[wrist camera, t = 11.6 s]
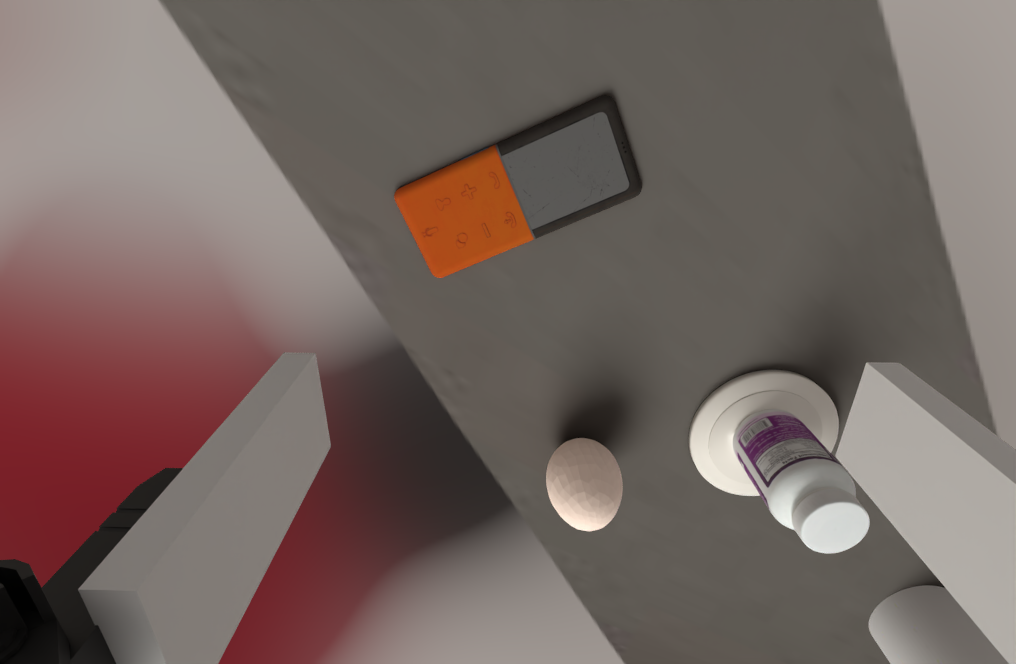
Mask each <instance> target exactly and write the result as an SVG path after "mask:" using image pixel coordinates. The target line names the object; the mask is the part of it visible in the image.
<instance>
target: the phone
mask: <svg viewBox="0 0 1016 664" xmlns="http://www.w3.org/2000/svg"><path fill="white" fill-rule="evenodd" d="M641 188H642V186H641V182H640V179H639V176H638V173H637V170H636V167H635V164H634V161H633V158H632V154H631V151H630V148H629V145H628V142H627V139H626V136H625V133H624V130H623V127H622V124H621V120H620V117H619V114H618V111H617V108H616V105H615V102H614V100H613V99H612V98H611V97H610V96H607V95H604V96H601V97H599V98H596V99H594V100H592V101H590V102H588V103H585V104H583V105H581V106H579V107H577V108H574V109H572V110H570V111H568V112H566V113H563V114H561V115H559V116H557V117H555V118H552V119H550V120H548V121H546V122H544V123H541V124H539V125H537V126H535V127H533V128H531V129H528V130H526V131H524V132H522V133H520V134H517V135H515V136H513V137H511V138H509V139H506V140H504V141H502V142H500V143H498V144H495V145H493V146H491V147H488V148H485V149H483V150H481V151H479V152H477V153H474V154H472V155H470V156H468V157H466V158H463V159H461V160H460V161H458V162H456V163H454V164H451V165H449V166H447V167H445V168H443V169H441V170H438V171H436V172H434V173H432V174H430V175H427V176H425V177H423V178H421V179H419V180H416V181H414V182H412V183H410V184H408V185H405V186H403V187H401V188H399V189H398V190H397V191H396V192H395V195H394V198H395V201H396V203H397V205H398V207H399V209H400V211H401V213H402V215H403V217H404V219H405V221H406V223H407V225H408V227H409V229H410V231H411V233H412V235H413V237H414V239H415V241H416V243H417V245H418V247H419V249H420V251H421V253H422V255H423V257H424V259H425V261H426V263H427V265H428V267H429V269H430V271H431V273H432V274H433V275H434V276H435V277H438V278H442V277H445V276H447V275H450V274H452V273H454V272H457V271H459V270H462V269H464V268H466V267H469V266H471V265H473V264H476V263H478V262H481V261H483V260H485V259H488V258H490V257H493V256H495V255H497V254H500V253H502V252H505V251H507V250H509V249H512V248H514V247H517V246H519V245H521V244H524V243H526V242H529V241H531V240H533V239H536V238H538V237H541V236H543V235H545V234H548V233H550V232H552V231H555V230H557V229H560V228H562V227H564V226H567V225H569V224H572V223H574V222H576V221H579V220H581V219H584V218H586V217H588V216H591V215H593V214H596V213H598V212H600V211H603V210H605V209H608V208H610V207H612V206H615V205H617V204H620V203H622V202H624V201H627V200H629V199H631V198H634V197H636V196H637V195H639V193H640V192H641Z"/></svg>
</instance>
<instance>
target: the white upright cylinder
mask: <svg viewBox="0 0 1016 664" xmlns="http://www.w3.org/2000/svg"><path fill="white" fill-rule="evenodd" d="M869 630H870V633H871V635H872V636H873V638H874V639H875V641H876V642H877V644H878V645H879V647H880V648H881V650H882V651H883V653H884V654H885V656H886V657H887V659H888V660H889V662H890V663H891V664H1009V663H1008V662H1007V661H1006V660H1005V658H1004V657H1003V656H1002V655H1001V654H1000V653H999V651H998V650H997V649H996V648H995V647H994V645H993V644H992V643H991V642H990V641H989V639H988V638H987V637H986V636H985V635H984V633H983V632H982V631H981V630H980V629H979V627H978V626H977V625H976V624H975V623H974V621H973V620H972V619H971V618H970V617H969V615H968V614H967V613H966V612H965V611H964V609H963V608H962V607H961V606H960V605H959V603H958V602H957V601H956V600H955V599H954V597H953V596H952V595H951V594H950V593H949V591H948V590H947V589H946V588H943V587H939V586H931V585H924V586H915V587H911V588H907V589H904V590H901V591H899V592H896V593H894V594H892V595H891V596H889V597H887V598H886V599H885V600H883V601H882V602H881V603H880V604H879V605H878V606H877V607H876V608H875V609H874V611H873V612H872V614H871V616H870V619H869Z"/></svg>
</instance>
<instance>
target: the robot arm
mask: <svg viewBox="0 0 1016 664" xmlns="http://www.w3.org/2000/svg"><path fill="white" fill-rule="evenodd" d="M330 447H331V444H330V439H329V432H328V426H327V420H326V414H325V408H324V402H323V396H322V390H321V383H320V377H319V371H318V365H317V359H316V354H315V353H283V354H282V356H281V357H280V358H279V359H278V360H277V361H276V363H275V364H274V365H273V366H272V367H271V368H270V369H269V371H268V372H267V373H266V374H265V375H264V376H263V377H262V379H261V380H260V381H259V382H258V383H257V384H256V386H255V387H254V388H253V389H252V390H251V391H250V392H249V393H248V395H247V396H246V397H245V398H244V399H243V401H242V402H241V403H240V404H239V405H238V406H237V407H236V408H235V410H234V411H233V412H232V413H231V414H230V416H228V418H227V419H226V420H225V421H224V422H223V423H222V425H221V426H220V427H219V428H218V429H217V430H216V431H215V433H214V434H213V435H212V436H211V437H210V438H209V440H208V441H207V442H206V443H205V444H204V445H203V446H202V447H201V449H200V450H199V451H198V452H197V453H196V455H195V456H194V457H193V458H192V459H191V460H190V461H189V462H188V464H187V465H186V466H185V467H184V468H165V469H163V470H162V471H160V472H159V473H157V474H156V475H154V476H153V477H151V478H150V479H148V480H147V481H145V482H143V483H142V484H140V485H139V486H138V487H137V488H135V490H134V491H133V492H132V493H131V494H130V495H129V496H128V497H127V498H126V499H125V500H124V501H123V502H122V503H121V504H120V505H119V506H118V508H117V511H116V513H112V514H111V515H110V516H109V517H108V518H107V519H106V520H105V521H104V523H102V525H101V526H100V529H99V531H95V532H94V533H93V534H92V535H91V536H90V537H89V538H88V539H87V540H86V541H85V542H84V544H83V545H82V546H81V547H80V548H79V549H78V550H77V551H76V552H75V553H74V554H73V555H72V556H71V557H70V558H69V559H68V561H67V562H66V563H65V564H64V565H63V566H62V567H61V568H60V569H59V570H58V571H57V572H56V573H55V574H54V575H53V576H52V578H50V580H49V581H48V582H47V583H46V584H45V585H44V586H43V587H42V588H41V586H40V584H39V583H38V581H37V579H36V577H35V575H34V573H33V571H32V569H31V567H30V565H29V564H27V563H24V562H21V561H18V560H15V559H13V560H0V664H218V663H219V661H220V659H221V657H222V655H223V653H224V651H225V649H226V647H227V645H228V643H229V641H230V640H231V638H232V636H233V634H234V632H235V630H236V628H237V626H238V624H239V622H240V620H241V618H242V616H243V615H244V613H245V611H246V609H247V607H248V605H249V603H250V601H251V599H252V597H253V595H254V593H255V591H256V590H257V588H258V586H259V584H260V581H261V580H262V578H263V576H264V574H265V572H266V570H267V568H268V566H269V564H270V563H271V561H272V559H273V557H274V555H275V553H276V551H277V549H278V547H279V545H280V543H281V541H282V539H283V538H284V536H285V534H286V532H287V530H288V528H289V526H290V524H291V522H292V520H293V518H294V516H295V514H296V513H297V510H298V509H299V507H300V505H301V503H302V501H303V499H304V497H305V495H306V493H307V491H308V489H309V487H310V486H311V484H312V482H313V480H314V478H315V476H316V474H317V472H318V470H319V468H320V466H321V464H322V463H323V461H324V459H325V457H326V455H327V453H328V451H329V449H330ZM836 458H837V459H838V460H839V461H840V462H841V464H842V465H843V466H844V467H845V468H846V469H847V471H848V472H849V473H850V474H851V475H852V477H853V478H854V479H855V480H856V481H857V483H858V484H859V485H860V486H861V487H862V489H863V490H864V491H865V492H866V493H867V495H868V496H869V497H870V498H871V499H872V501H873V502H874V503H875V504H876V505H877V507H878V508H879V509H880V510H881V511H882V513H883V514H884V515H885V516H886V517H887V519H888V520H889V521H890V522H891V523H892V525H893V526H894V527H895V528H896V529H897V530H898V532H899V533H900V534H901V535H902V536H903V538H904V539H905V540H906V541H907V542H908V544H909V545H910V546H911V547H912V548H913V550H914V551H915V552H916V553H917V554H918V556H919V557H920V558H921V559H922V560H923V562H924V563H925V564H926V565H927V566H928V568H929V569H930V570H931V571H932V572H933V574H934V575H935V576H936V577H937V578H938V580H939V581H940V582H941V583H942V584H943V586H944V587H945V588H946V589H947V590H948V591H949V593H950V594H951V595H952V596H953V597H954V599H955V600H956V601H957V602H958V603H959V605H960V606H961V607H962V608H963V609H964V611H965V612H966V613H967V614H968V615H969V617H970V618H971V619H972V620H973V621H974V623H975V624H976V625H977V626H978V627H979V629H980V630H981V631H982V632H983V633H984V635H985V636H986V637H987V638H988V639H989V641H990V642H991V643H992V644H993V645H994V647H995V648H996V649H997V650H998V651H999V653H1000V654H1001V655H1002V656H1003V657H1004V658H1005V660H1006V661H1007V662H1008V663H1009V664H1016V450H1015V449H1014V448H1013V447H1011V446H1010V445H1009V444H1007V443H1006V442H1005V441H1003V440H1002V439H1001V438H999V437H998V436H997V435H995V434H994V433H992V432H991V431H990V430H988V429H987V428H986V427H984V426H983V425H982V424H980V423H979V422H978V421H976V420H975V419H974V418H972V417H971V416H970V415H968V414H967V413H966V412H964V411H963V410H962V409H960V408H959V407H958V406H956V405H955V404H954V403H952V402H951V401H950V400H948V399H947V398H946V397H944V396H943V395H942V394H940V393H939V392H938V391H936V390H935V389H934V388H932V387H931V386H930V385H928V384H927V383H926V382H924V381H923V380H922V379H920V378H919V377H918V376H916V375H915V374H914V373H912V372H911V371H910V370H908V369H907V368H906V367H904V366H903V365H901V364H900V363H878V362H866V365H865V368H864V371H863V374H862V377H861V380H860V384H859V387H858V390H857V393H856V396H855V399H854V402H853V405H852V408H851V411H850V414H849V417H848V420H847V423H846V426H845V429H844V432H843V435H842V438H841V441H840V444H839V447H838V450H837V453H836Z"/></svg>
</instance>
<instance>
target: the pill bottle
mask: <svg viewBox="0 0 1016 664" xmlns="http://www.w3.org/2000/svg"><path fill="white" fill-rule="evenodd" d="M733 450H734V453H735V455H736V457H737V459H738V461H739V462H740V464H741V465H742V467H743V469H744V470H745V472H746V473H747V475H748V477H749V478H750V480H751V481H752V483H753V484H754V486H755V488H756V489H757V491H758V493H759V494H760V496H761V497H762V499H763V500H764V502H765V504H766V505H767V507H768V509H769V510H770V512H771V513H772V515H773V516H774V517H775V518H776V519H777V520H778V521H779V522H780V523H781V524H783V525H784V526H786V527H788V528H790V529H793V530H795V531H796V533H797V534H798V535H799V537H800V538H801V539H802V541H803V542H804V543H805V544H806V545H807V547H809V548H810V549H812V550H814V551H817V552H820V553H837V552H841V551H844V550H847V549H849V548H851V547H853V546H855V545H856V544H857V543H858V542H860V541H861V540H862V538H863V537H864V536H865V535H866V533H867V531H868V528H869V524H870V520H869V516H868V513H867V512H866V510H865V509H864V508H863V506H862V505H861V504H860V503H859V501H858V500H857V498H856V497H855V496H856V490H855V485H854V482H853V480H852V478H851V476H850V475H849V473H848V472H847V471H846V469H845V468H844V467H843V466H842V465H841V464H840V463H839V462H838V461H837V459H836V458H835V457H834V456H833V455H832V454H831V453H830V452H829V451H828V450H827V449H826V447H825V446H824V445H823V444H822V443H821V442H820V441H819V440H818V439H817V438H816V436H815V435H814V434H813V433H812V432H811V431H810V430H809V429H808V428H807V427H806V425H805V424H804V423H803V422H802V421H801V420H800V419H799V418H798V417H796V416H795V415H793V414H792V413H790V412H787V411H784V410H779V409H767V410H763V411H760V412H757V413H754V414H752V415H751V416H749V417H748V418H746V419H745V420H744V421H743V422H742V423H741V425H740V426H739V427H738V429H737V430H736V432H735V434H734V437H733Z"/></svg>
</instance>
